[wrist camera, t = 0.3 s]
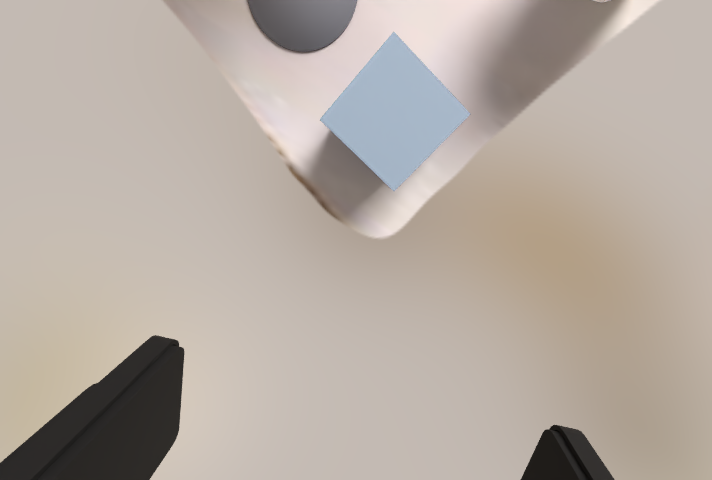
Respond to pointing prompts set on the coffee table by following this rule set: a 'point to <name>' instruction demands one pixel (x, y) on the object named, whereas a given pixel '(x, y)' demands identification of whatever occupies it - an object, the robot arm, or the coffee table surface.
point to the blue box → (394, 113)
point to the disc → (303, 21)
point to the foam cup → (601, 1)
